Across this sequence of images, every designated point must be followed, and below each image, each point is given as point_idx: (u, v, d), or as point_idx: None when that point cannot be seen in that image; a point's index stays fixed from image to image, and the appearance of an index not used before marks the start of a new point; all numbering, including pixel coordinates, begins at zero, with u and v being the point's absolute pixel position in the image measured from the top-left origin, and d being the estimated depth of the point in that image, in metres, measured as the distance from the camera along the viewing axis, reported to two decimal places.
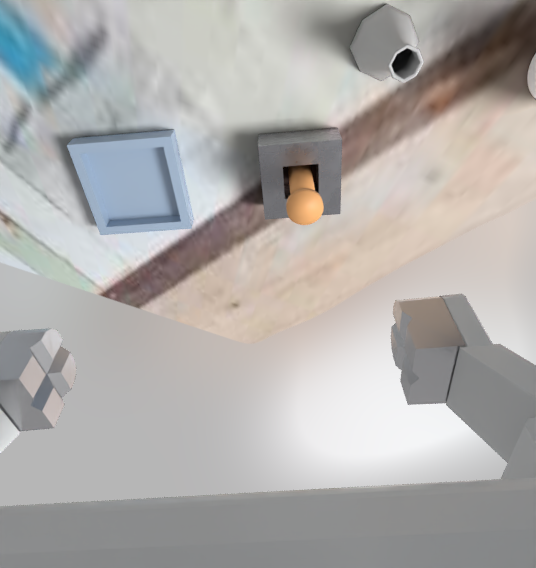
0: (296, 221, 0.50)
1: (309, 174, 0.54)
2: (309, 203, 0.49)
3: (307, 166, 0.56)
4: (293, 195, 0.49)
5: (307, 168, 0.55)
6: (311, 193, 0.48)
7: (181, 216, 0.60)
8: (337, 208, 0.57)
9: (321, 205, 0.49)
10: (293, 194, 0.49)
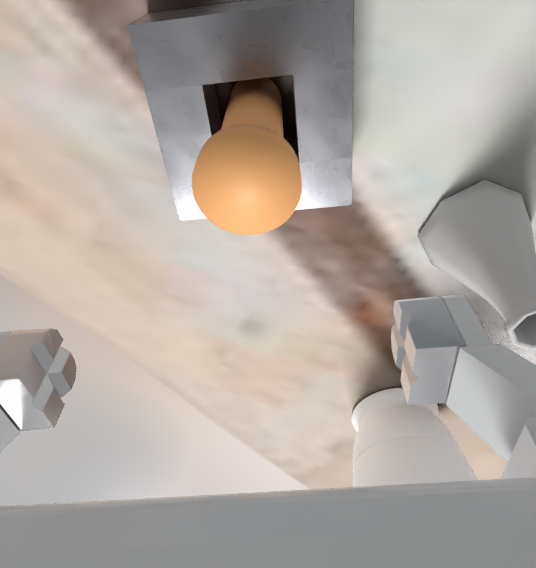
0: (201, 166, 0.16)
1: None
2: (264, 198, 0.17)
3: None
4: (288, 150, 0.16)
5: None
6: (295, 202, 0.17)
7: None
8: (192, 213, 0.25)
9: (259, 229, 0.18)
10: (288, 148, 0.16)
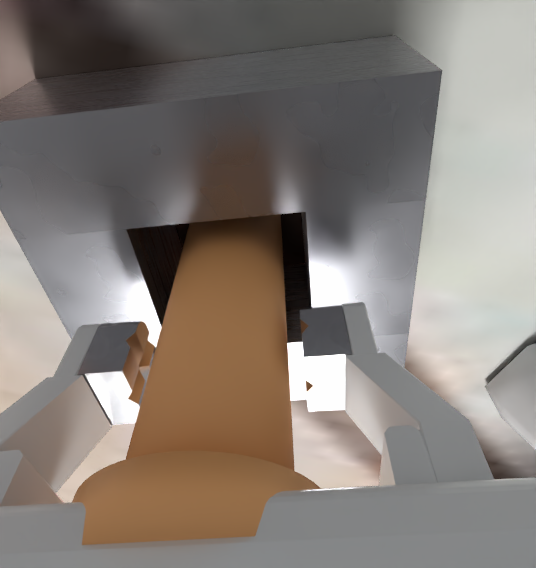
0: None
1: None
2: None
3: None
4: None
5: None
6: None
7: None
8: None
9: None
10: None
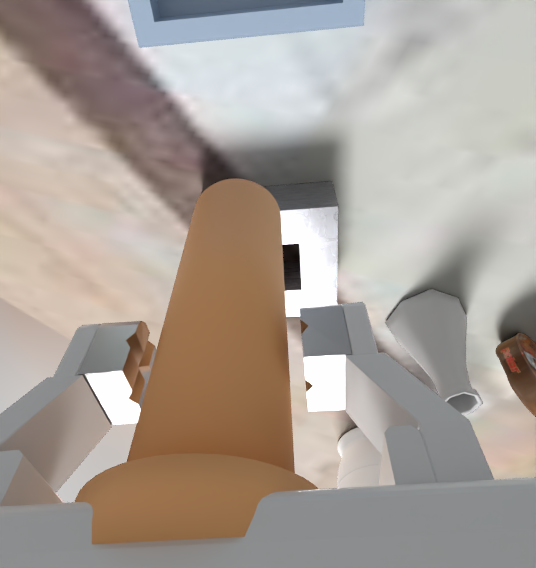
0: None
1: None
2: None
3: None
4: None
5: None
6: None
7: (169, 25, 0.25)
8: None
9: None
10: None
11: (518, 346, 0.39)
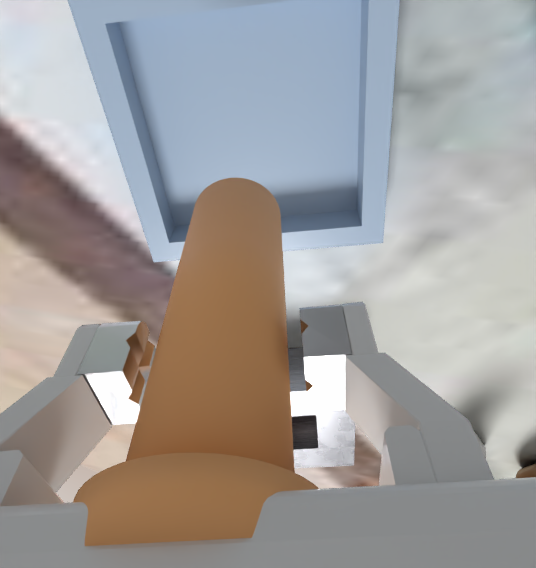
0: None
1: None
2: None
3: None
4: None
5: None
6: None
7: None
8: None
9: None
10: None
11: None
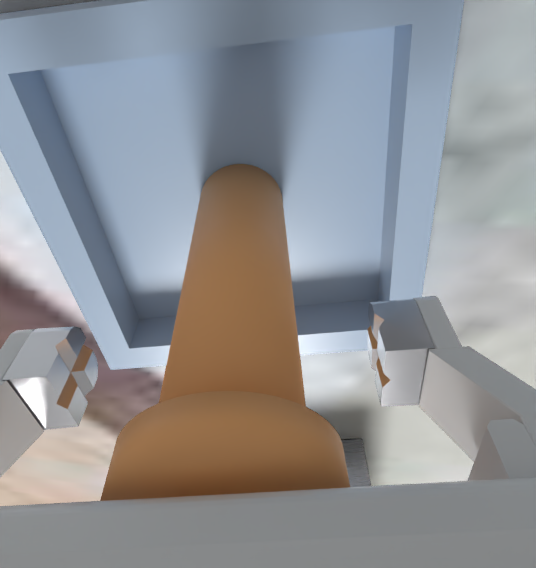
0: (118, 497, 0.07)
1: None
2: None
3: None
4: (324, 461, 0.07)
5: None
6: None
7: (149, 351, 0.18)
8: None
9: None
10: (324, 449, 0.07)
11: None
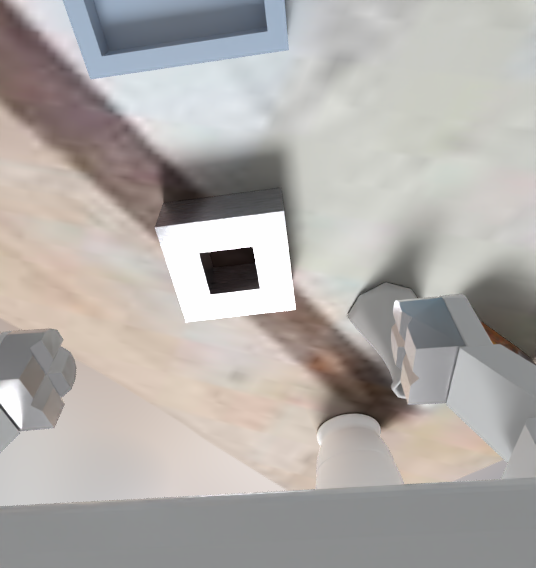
0: None
1: None
2: None
3: None
4: None
5: None
6: None
7: (115, 58, 0.28)
8: (194, 318, 0.39)
9: None
10: None
11: None
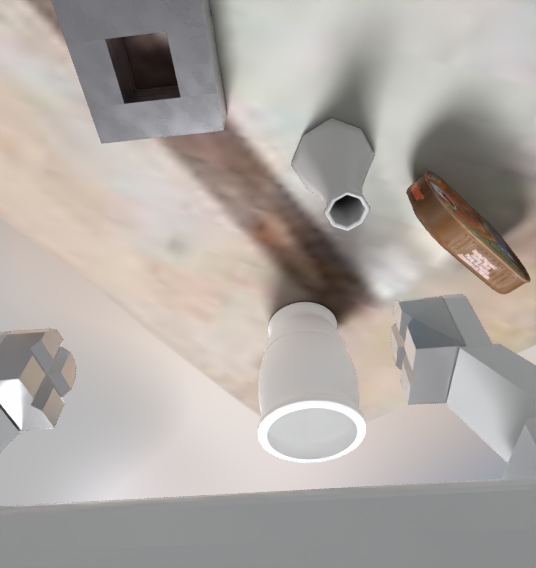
0: None
1: None
2: None
3: None
4: None
5: None
6: None
7: None
8: (109, 137, 0.35)
9: None
10: None
11: (424, 176, 0.38)
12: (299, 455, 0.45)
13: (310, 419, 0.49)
